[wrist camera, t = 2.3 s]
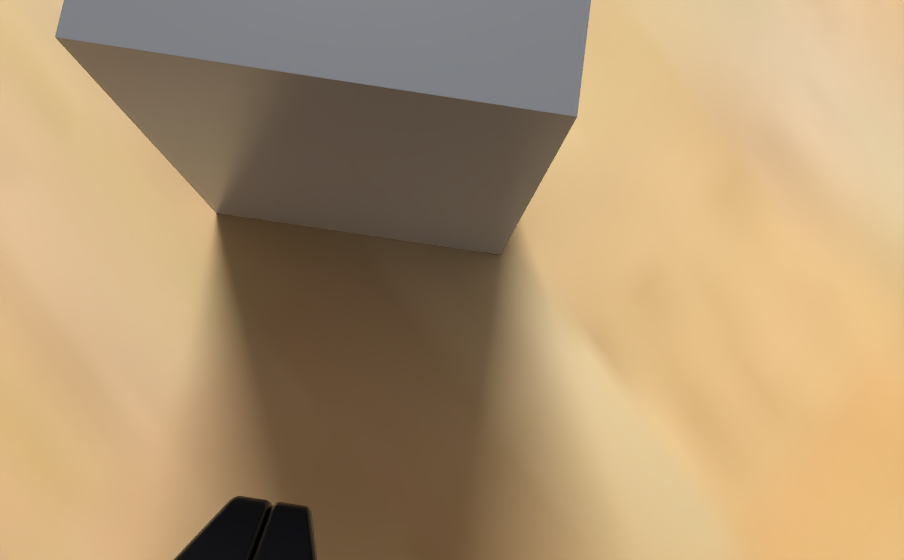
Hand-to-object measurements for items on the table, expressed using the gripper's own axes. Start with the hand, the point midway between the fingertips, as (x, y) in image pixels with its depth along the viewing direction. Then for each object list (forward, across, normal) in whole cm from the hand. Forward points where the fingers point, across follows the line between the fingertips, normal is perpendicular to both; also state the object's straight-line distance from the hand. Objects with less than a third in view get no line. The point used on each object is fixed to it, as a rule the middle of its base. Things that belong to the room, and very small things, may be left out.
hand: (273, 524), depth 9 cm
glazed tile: (+10, 0, +1) cm, 10 cm away
